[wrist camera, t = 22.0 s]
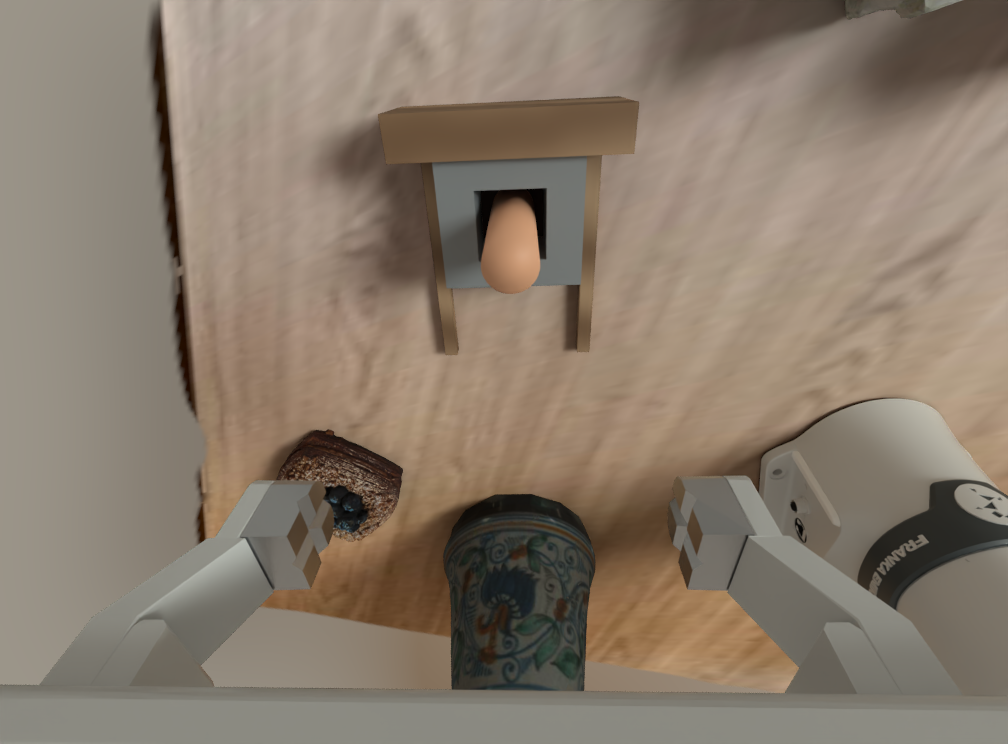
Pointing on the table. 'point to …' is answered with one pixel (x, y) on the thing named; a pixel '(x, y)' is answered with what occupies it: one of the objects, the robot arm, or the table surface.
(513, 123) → the rail frame
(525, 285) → the dowel
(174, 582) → the robot arm
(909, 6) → the incense holder
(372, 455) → the pastry
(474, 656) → the beer stein
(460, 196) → the block
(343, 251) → the table surface
